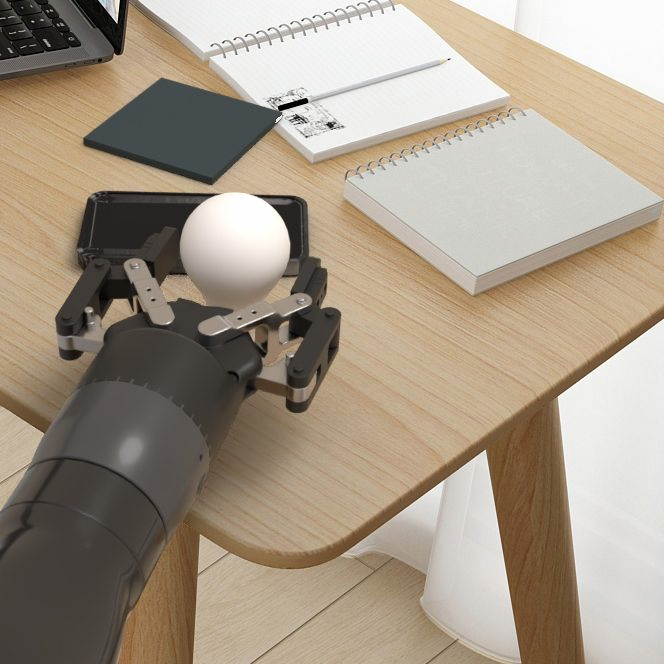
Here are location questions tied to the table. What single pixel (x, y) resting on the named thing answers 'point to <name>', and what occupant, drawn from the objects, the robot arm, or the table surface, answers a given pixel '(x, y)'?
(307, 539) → the table surface
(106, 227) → the phone
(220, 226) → the lightbulb
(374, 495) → the table surface
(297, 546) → the table surface
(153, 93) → the mat
